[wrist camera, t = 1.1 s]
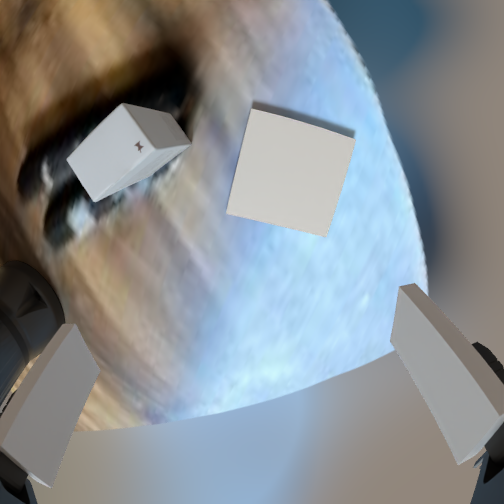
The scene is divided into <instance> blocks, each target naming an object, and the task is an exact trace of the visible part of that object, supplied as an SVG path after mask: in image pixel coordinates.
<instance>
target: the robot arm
mask: <svg viewBox="0 0 504 504" xmlns="http://www.w3.org/2000/svg"><path fill="white" fill-rule="evenodd" d="M390 342H391V343H392V345H393V347H394V348H395V350H396V352H397V353H398V355H399V356H400V358H401V360H402V362H403V363H404V365H405V366H406V368H407V370H408V372H409V373H410V375H411V377H412V378H413V380H414V382H415V384H416V385H417V387H418V389H419V391H420V392H421V394H422V396H423V398H424V400H425V401H426V403H427V405H428V407H429V409H430V411H431V412H432V414H433V416H434V418H435V420H436V422H437V424H438V426H439V427H440V430H441V432H442V433H443V435H444V437H445V439H446V441H447V443H448V445H449V447H450V449H451V451H452V454H453V455H454V458H455V460H456V462H457V464H458V465H459V464H461V463H463V462H464V461H466V460H468V459H470V458H472V457H473V456H475V455H476V454H477V453H478V452H479V451H480V450H481V448H483V447H484V446H485V448H486V450H487V451H486V452H485V453H484V454H483V455H482V456H481V457H480V458H479V459H478V460H477V461H476V463H475V465H474V468H476V467H477V466H478V465H479V464H480V463H481V462H482V465H481V467H480V469H481V470H480V474H479V477H478V481H477V484H476V488H475V491H474V494H473V497H472V500H471V503H470V504H504V369H503V365H502V364H501V363H500V362H499V361H497V358H496V357H495V356H494V355H493V354H492V352H491V351H490V350H489V349H488V348H486V347H485V346H483V345H482V344H480V343H478V342H476V343H474V344H471V343H470V342H469V341H468V340H467V339H466V337H465V336H464V335H463V334H462V333H461V332H460V331H459V329H458V328H457V327H456V326H455V325H454V324H453V323H452V322H451V321H450V319H449V318H448V317H447V316H446V315H445V314H444V313H443V312H442V311H441V310H440V309H439V308H438V307H437V305H436V304H435V303H434V302H433V301H432V300H431V299H430V298H429V297H428V296H427V295H426V294H425V293H424V292H423V291H422V290H421V289H420V288H419V287H418V286H417V285H416V284H415V283H413V284H409V285H404V286H399V290H398V297H397V304H396V311H395V317H394V322H393V328H392V333H391V338H390ZM39 354H41V355H40V356H39V357H38V359H37V360H36V362H35V363H34V365H33V366H32V368H31V369H30V371H29V372H28V374H27V375H26V377H25V378H24V380H23V381H22V383H21V384H20V386H19V388H18V389H17V390H16V391H15V392H14V393H13V394H12V395H11V397H10V398H9V400H8V402H7V403H6V404H7V405H6V406H5V407H4V408H3V410H2V413H0V504H37V501H36V498H35V495H34V491H33V488H32V485H31V483H30V481H29V480H28V479H27V476H28V475H29V476H31V477H32V478H33V479H34V480H36V481H37V482H38V483H41V484H43V485H46V486H48V487H50V488H52V486H53V484H54V481H55V478H56V475H57V472H58V469H59V466H60V464H61V461H62V459H63V456H64V453H65V451H66V448H67V445H68V443H69V440H70V438H71V435H72V433H73V431H74V428H75V426H76V423H77V421H78V419H79V416H80V414H81V412H82V409H83V407H84V405H85V403H86V400H87V398H88V396H89V394H90V392H91V389H92V387H93V385H94V383H95V381H96V379H97V377H98V375H99V372H100V369H99V367H98V366H97V364H96V362H95V360H94V359H93V357H92V355H91V353H90V351H89V349H88V347H87V346H86V344H85V342H84V340H83V338H82V336H81V334H80V332H79V330H78V328H77V326H76V324H65V319H64V314H63V311H62V308H61V305H60V303H59V300H58V298H57V296H56V295H55V293H54V291H53V290H52V288H51V287H50V285H49V284H48V283H47V282H46V280H45V279H44V278H43V277H42V276H41V275H40V274H39V273H38V272H37V271H36V270H35V269H33V268H32V267H30V266H29V265H27V264H25V263H23V262H20V261H10V262H7V263H6V264H4V265H3V266H2V267H0V406H1V405H2V403H3V401H4V400H5V398H6V396H7V394H8V393H9V391H10V390H11V388H12V387H13V385H14V384H15V382H16V380H17V379H18V377H19V376H20V374H21V373H22V371H23V370H24V368H25V367H26V366H27V364H28V363H29V361H30V360H32V359H34V358H35V357H37V356H38V355H39Z"/></svg>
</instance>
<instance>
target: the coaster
mask: <svg viewBox="0 0 504 504" xmlns="http://www.w3.org/2000/svg"><path fill="white" fill-rule="evenodd" d="M355 141H356V140H355V139H353V138H350V137H347V136H344V135H341V134H339V133H336V132H333V131H330V130H327V129H324V128H321V127H317V126H314V125H311V124H308V123H304V122H301V121H298V120H294V119H291V118H287V117H283V116H280V115H276V114H272V113H268V112H264V111H260V110H256V109H251V112H250V116H249V120H248V123H247V127H246V131H245V135H244V139H243V143H242V147H241V151H240V156H239V160H238V164H237V168H236V172H235V176H234V181H233V185H232V189H231V193H230V198H229V202H228V207H227V211H226V214H229V215H234V216H238V217H243V218H247V219H252V220H256V221H260V222H265V223H269V224H273V225H278V226H282V227H286V228H290V229H294V230H299V231H303V232H307V233H311V234H315V235H319V236H323V237H327V234H328V231H329V228H330V225H331V222H332V218H333V215H334V212H335V209H336V206H337V203H338V200H339V196H340V193H341V190H342V187H343V183H344V180H345V177H346V173H347V170H348V166H349V163H350V159H351V156H352V152H353V149H354V145H355Z"/></svg>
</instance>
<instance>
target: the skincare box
mask: <svg viewBox="0 0 504 504" xmlns="http://www.w3.org/2000/svg"><path fill="white" fill-rule="evenodd" d="M191 144H192V143H191V142H190V140H189V139H188V138H187V136H186V135H185V133H184V132H183V130H182V129H181V128H180V126H179V125H178V124H177V122H176V121H175V119H174V118H173V117H172V115H171V114H170V113H165V112H161V111H157V110H153V109H148V108H144V107H139V106H134V105H129V104H124V103H122V104H121V105H119V106H118V107H117V108H116V109H115V110H114V111H113V112H112V113H111V114H109V115H108V116H107V117H106V118H105V119H104V120H103V121H102V122H101V123H100V124H99V125H98V126H97V127H96V128H95V129H94V130H93V131H92V132H91V133H90V134H89V135H88V136H87V137H86V138H85V140H84V141H83V142H82V143H81V144H80V145H79V146H78V147H77V148H76V149H75V150H74V151H73V153H72V154H71V155H70V156H69V157H68V158H67V161H68V163H69V164H70V166H71V168H72V169H73V171H74V172H75V174H76V175H77V177H78V179H79V180H80V182H81V183H82V185H83V186H84V188H85V189H86V191H87V192H88V194H89V195H90V197H91V198H92V200H93V201H94V202H97V201H99V200H101V199H103V198H105V197H107V196H109V195H111V194H113V193H115V192H117V191H119V190H121V189H123V188H125V187H127V186H129V185H132V184H134V183H136V182H138V181H140V180H143V179H145V178H147V177H149V176H151V175H152V174H153V173H154V172H156V171H157V170H158V169H160V168H161V167H162V166H163V165H165V164H166V163H167V162H169V161H170V160H171V159H173V158H174V157H175V156H176V155H178V154H179V153H180V152H182V151H183V150H185V149H186V148H187V147H189V146H190V145H191Z"/></svg>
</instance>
